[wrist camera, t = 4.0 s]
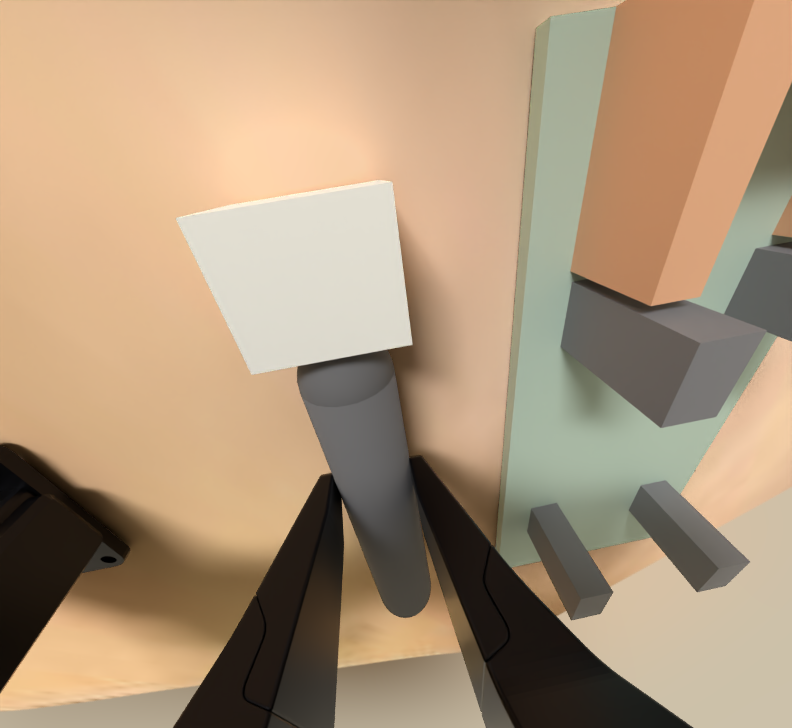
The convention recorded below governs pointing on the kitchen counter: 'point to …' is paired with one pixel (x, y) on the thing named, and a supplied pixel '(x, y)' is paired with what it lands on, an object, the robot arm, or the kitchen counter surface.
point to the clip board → (643, 277)
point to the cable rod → (330, 347)
